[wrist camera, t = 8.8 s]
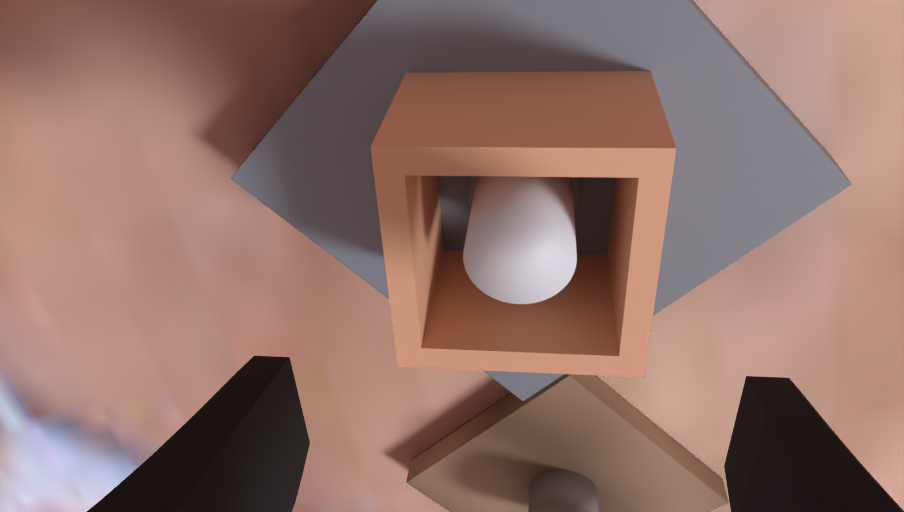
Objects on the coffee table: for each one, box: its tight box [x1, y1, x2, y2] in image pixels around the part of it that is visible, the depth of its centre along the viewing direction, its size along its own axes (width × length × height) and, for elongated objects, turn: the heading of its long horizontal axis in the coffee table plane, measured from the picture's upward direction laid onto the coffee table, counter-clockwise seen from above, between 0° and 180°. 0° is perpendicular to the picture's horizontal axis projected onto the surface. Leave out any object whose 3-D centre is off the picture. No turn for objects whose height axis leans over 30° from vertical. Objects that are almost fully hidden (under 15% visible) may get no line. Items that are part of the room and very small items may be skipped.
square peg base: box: [231, 0, 851, 401], centre depth 17 cm, size 11×11×5 cm
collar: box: [371, 71, 676, 377], centre depth 16 cm, size 6×6×4 cm
